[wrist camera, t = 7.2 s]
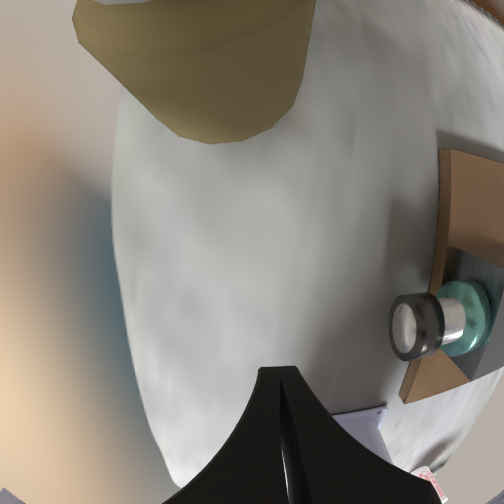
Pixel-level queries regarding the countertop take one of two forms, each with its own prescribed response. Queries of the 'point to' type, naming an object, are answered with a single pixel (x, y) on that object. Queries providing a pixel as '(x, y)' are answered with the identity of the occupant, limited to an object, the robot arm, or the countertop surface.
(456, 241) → the sharpening stone
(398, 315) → the shaft
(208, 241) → the countertop surface
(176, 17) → the squeeze bottle
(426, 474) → the beverage cup
